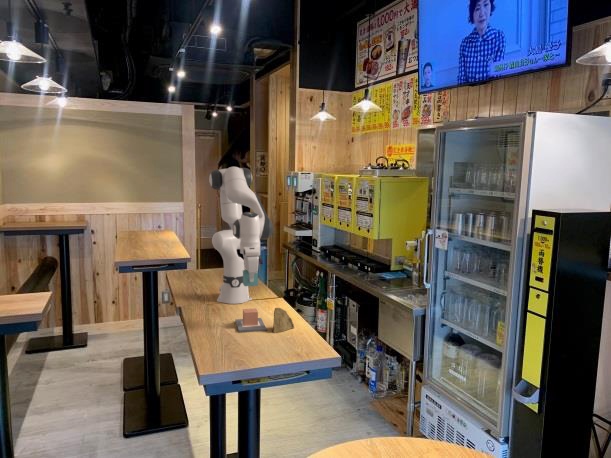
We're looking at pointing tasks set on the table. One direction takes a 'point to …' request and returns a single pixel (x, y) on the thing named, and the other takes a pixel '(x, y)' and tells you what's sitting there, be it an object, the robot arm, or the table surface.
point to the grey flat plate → (250, 328)
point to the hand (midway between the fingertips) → (250, 279)
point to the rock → (281, 321)
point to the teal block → (246, 279)
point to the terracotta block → (250, 317)
